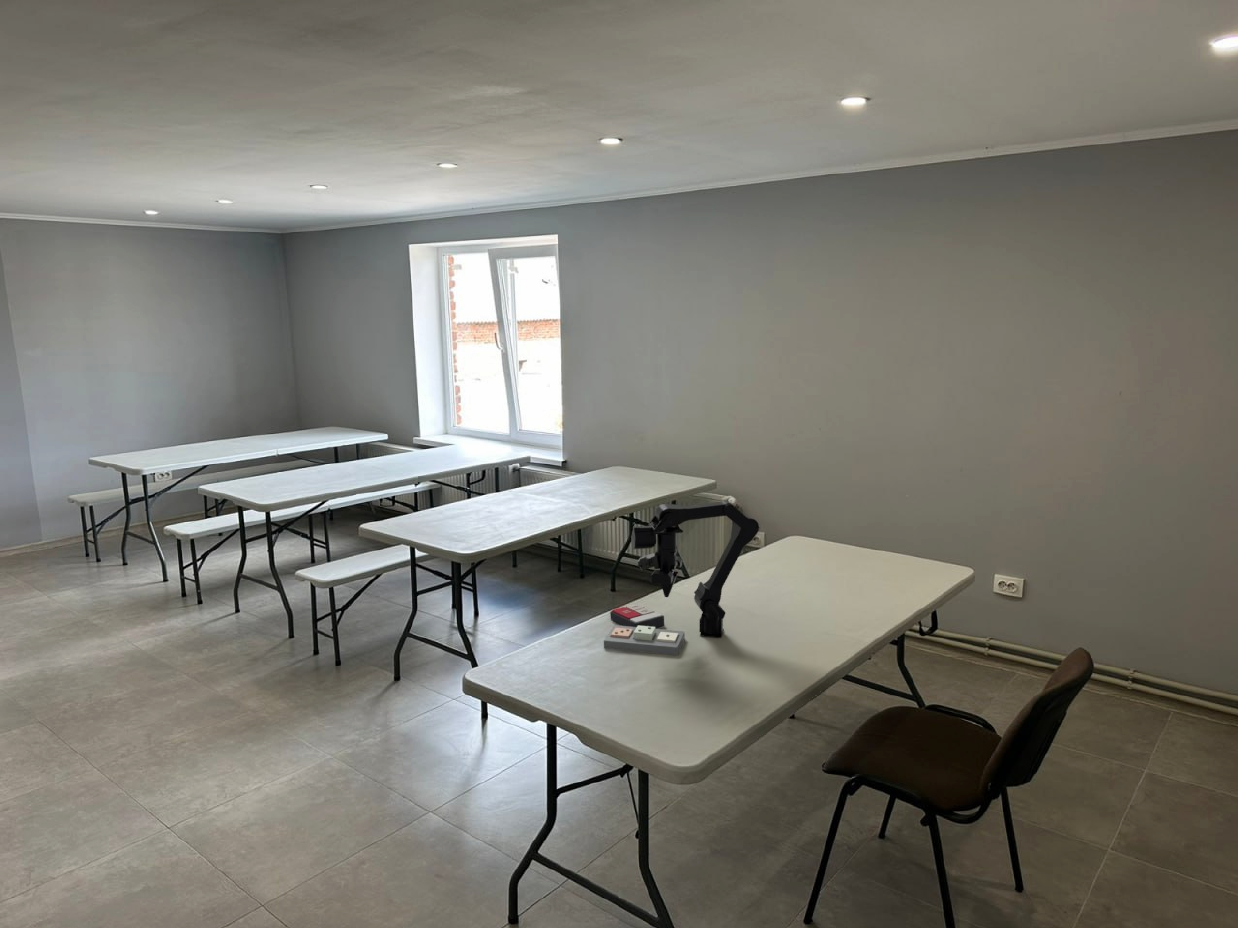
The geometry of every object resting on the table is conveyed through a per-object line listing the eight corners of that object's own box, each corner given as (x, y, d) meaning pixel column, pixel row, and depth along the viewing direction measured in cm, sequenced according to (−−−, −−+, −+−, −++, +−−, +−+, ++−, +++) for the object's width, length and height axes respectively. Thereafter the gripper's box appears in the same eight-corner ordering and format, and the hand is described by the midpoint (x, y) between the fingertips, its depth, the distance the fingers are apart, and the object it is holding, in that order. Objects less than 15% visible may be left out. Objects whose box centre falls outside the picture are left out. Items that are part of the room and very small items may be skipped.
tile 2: (655, 634, 241) (655, 626, 241) (651, 641, 236) (651, 633, 236) (638, 633, 243) (637, 624, 242) (633, 640, 238) (633, 631, 237)
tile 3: (632, 636, 243) (632, 628, 243) (628, 643, 238) (628, 635, 238) (615, 635, 245) (615, 626, 244) (611, 642, 240) (610, 633, 239)
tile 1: (678, 641, 240) (678, 632, 239) (674, 648, 235) (674, 639, 234) (660, 639, 241) (660, 630, 241) (656, 646, 236) (656, 638, 236)
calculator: (637, 602, 265) (664, 613, 252) (638, 614, 265) (665, 626, 253) (609, 609, 259) (635, 621, 246) (610, 621, 259) (636, 634, 247)
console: (684, 638, 243) (684, 631, 242) (677, 655, 231) (677, 647, 231) (614, 632, 248) (614, 625, 248) (603, 647, 237) (603, 640, 237)
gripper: (647, 536, 250) (647, 584, 253) (632, 554, 232) (633, 605, 235) (682, 538, 247) (682, 587, 250) (670, 556, 229) (670, 608, 232)
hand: (666, 596), depth 242 cm, fingers closed
